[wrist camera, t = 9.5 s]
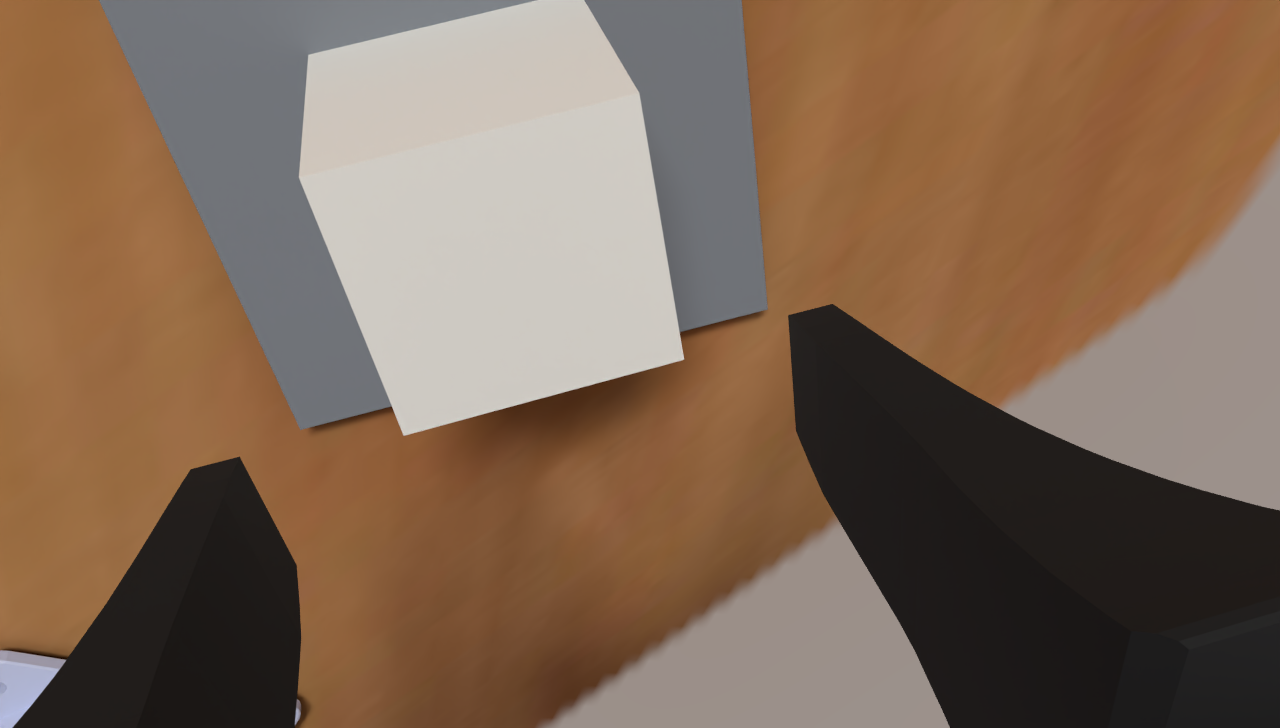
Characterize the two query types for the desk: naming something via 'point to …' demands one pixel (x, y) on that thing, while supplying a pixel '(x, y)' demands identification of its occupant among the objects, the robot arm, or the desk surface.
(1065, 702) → the robot arm
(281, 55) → the mat
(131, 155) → the desk surface
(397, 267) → the cube
